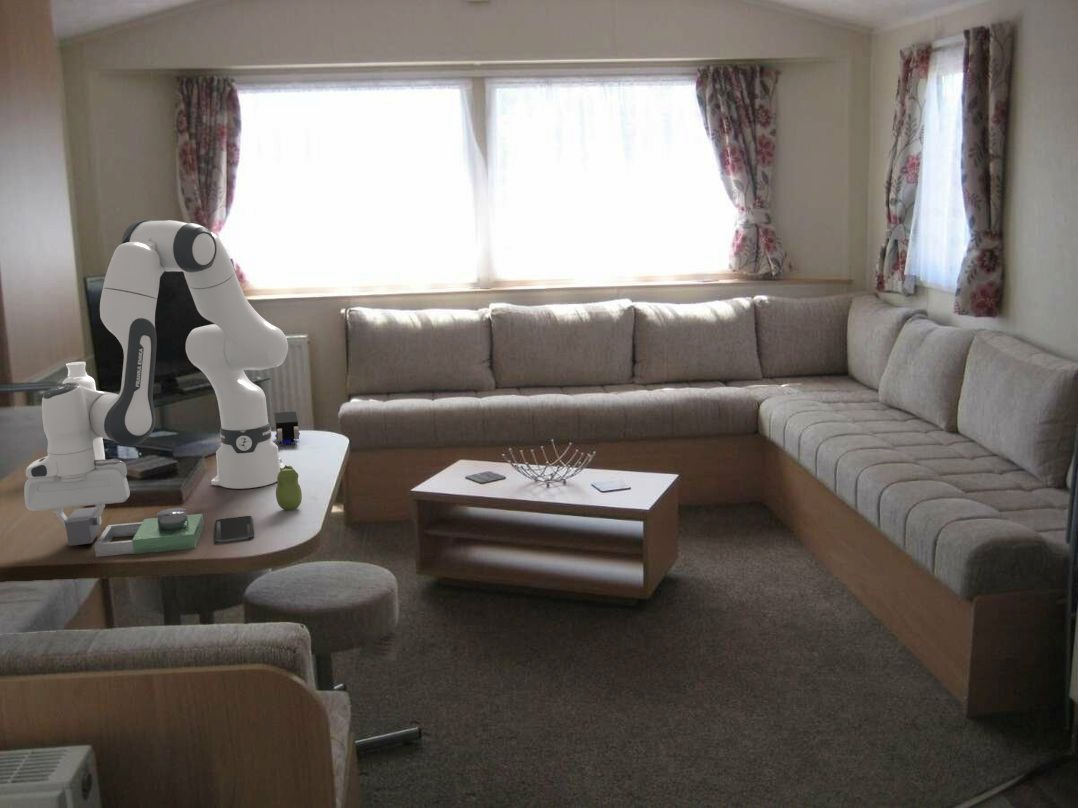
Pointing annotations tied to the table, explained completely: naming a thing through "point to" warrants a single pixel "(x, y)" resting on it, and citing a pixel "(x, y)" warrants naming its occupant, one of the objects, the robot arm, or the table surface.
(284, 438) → the figurine character
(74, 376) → the bottle
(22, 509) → the table surface
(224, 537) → the phone
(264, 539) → the table surface
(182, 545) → the multicoloured piece
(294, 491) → the pear
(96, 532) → the grey rectangular cuboid
